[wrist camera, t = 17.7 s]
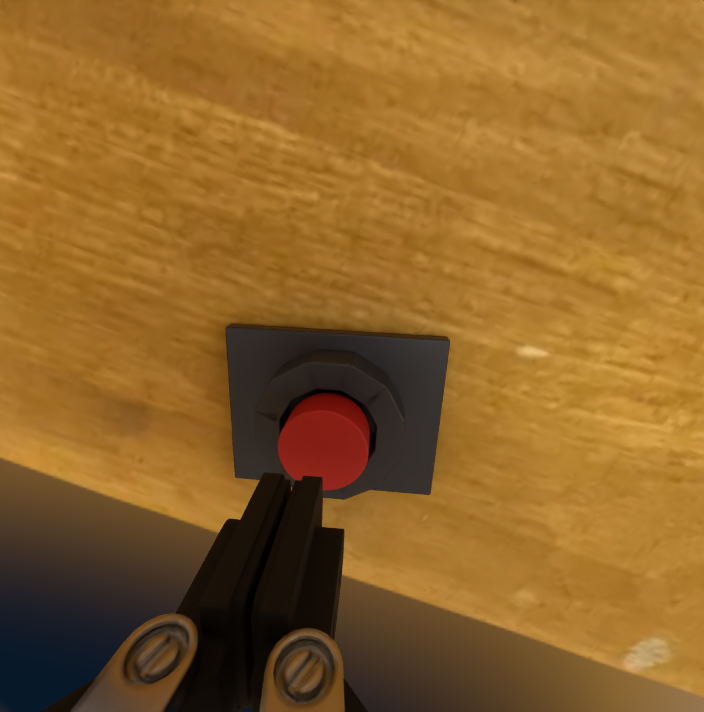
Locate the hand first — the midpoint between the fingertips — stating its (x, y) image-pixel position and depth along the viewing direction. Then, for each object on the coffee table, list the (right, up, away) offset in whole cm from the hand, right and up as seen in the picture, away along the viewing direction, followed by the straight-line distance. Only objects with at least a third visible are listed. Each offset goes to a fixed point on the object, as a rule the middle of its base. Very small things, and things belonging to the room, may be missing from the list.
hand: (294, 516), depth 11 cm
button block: (+1, +2, +7) cm, 8 cm away
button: (+1, +1, +5) cm, 6 cm away
